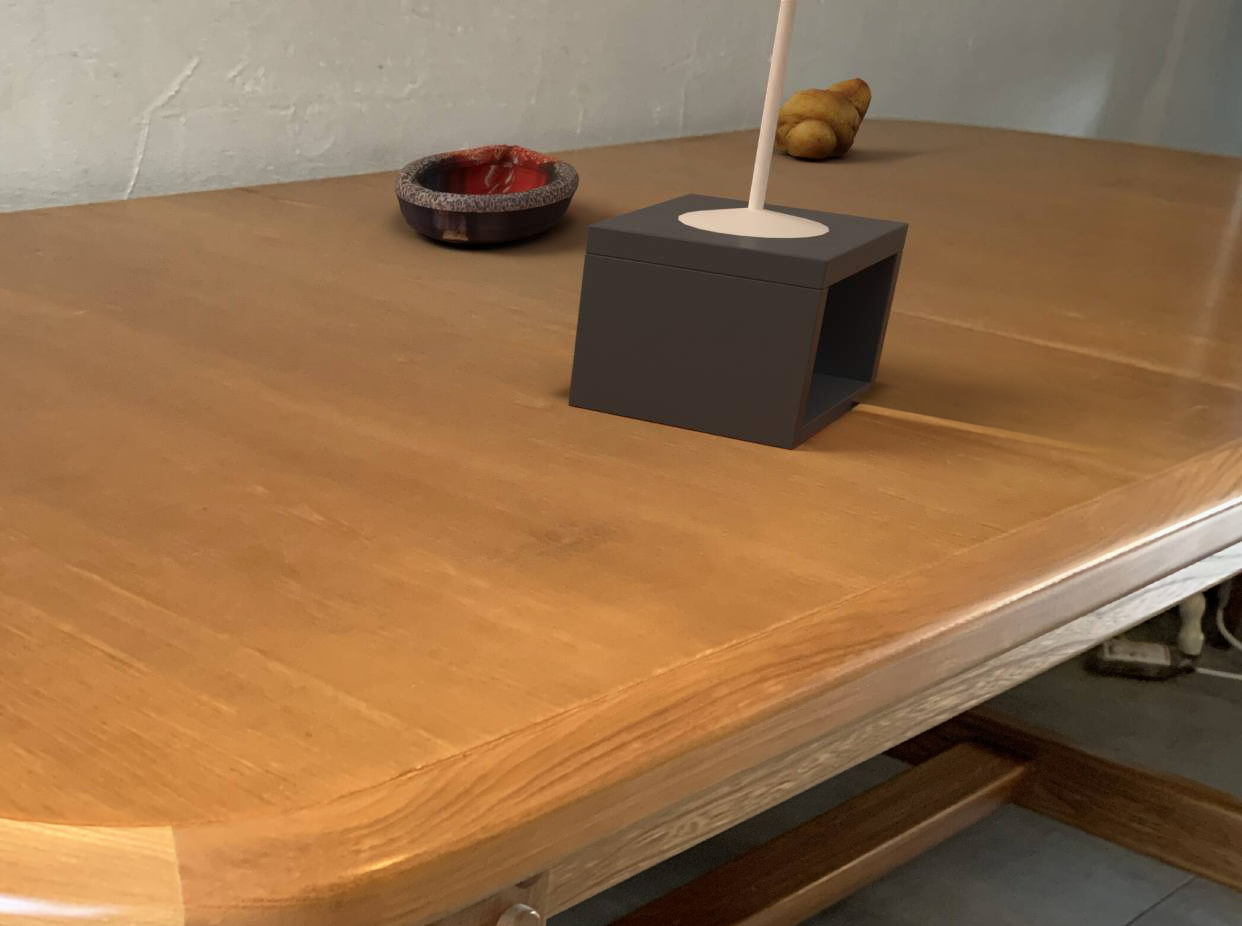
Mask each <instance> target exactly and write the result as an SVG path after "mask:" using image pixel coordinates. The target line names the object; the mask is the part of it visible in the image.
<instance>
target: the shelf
mask: <svg viewBox="0 0 1242 926" xmlns="http://www.w3.org/2000/svg"><path fill="white" fill-rule="evenodd" d="M748 205H749V200H743V199H742V200H741V199H735V198H734V199H733V198H728V197H727V198H726V197H720V196H712V195H706V194H705V195H704V194H699V193H698V194H697V193H688V194H685V195H681V196H678V197H675V198H671V199H668V200H665V201H662V202H659V203H655V204H653V205H649V206H646V207H643V208H639V209H636V210H633V211H630V212H626V213H624V214H621V215H618V216H615V217H614V216H613V217H611V218H608V219H603V220H601V221H598V222H595V223H591V224H588V227H587V237H586V244H585V253H584V262H583V270H582V279H581V287H580V297H579V306H578V315H577V323H576V331H575V341H574V351H573V359H572V368H571V376H570V386H569V394H568V406H572V407H577V408H581V409H587V410H591V411H596V412H601V413H607V414H612V415H616V416H622V417H627V418H631V419H638V420H642V421H647V422H651V423H657V424H661V425H667V426H671V427H675V428H676V427H678V428H680V429H681V428H682V429H687V430H692V431H697V432H703V433H707V434H712V435H716V436H721V437H727V438H732V439H736V440H742V441H746V442H751V443H757V444H762V445H765V446H773V447H776V448H782V449H787V450H793V449H795V448H796V447H798V446H799V445H801V444H802V443H804V442H805V441H807V440H808V439H810V438H812V437H813V436H814V435H816V434H817V433H819V432H821V431H822V430H823V429H824V428H826V427H828V426H829V425H830V424H832V423H834V422H835V421H837V420H838V419H839V418H841V417H843V416H844V415H845V414H847V413H848V412H850V411H851V410H853V409H854V408H856V407H857V406H859V405H860V404H861V402H858V401H855V400H856V399H858V398H859V397H861V396H862V395H864V394H866V393H867V392H868V391H870V390H871V389H873V388H874V387H876V381H877V377H878V372H879V367H880V362H881V358H882V353H883V348H884V344H885V338H886V334H887V329H888V325H889V320H890V316H891V310H892V305H893V301H894V297H895V292H896V287H897V282H898V278H899V272H900V268H901V264H902V263H901V262H902V259H903V254H904V249H905V244H906V239H907V235H908V230H909V226H910V225H909V223H908V222H903V221H895V220H888V219H881V218H874V217H866V216H859V215H852V214H845V213H837V212H829V211H822V210H815V209H809V208H808V209H807V208H800V207H792V206H786V205H778V204H773V203H772V204H771V203H764V207H763V209H766V210H770V211H774V212H779V213H783V214H787V215H792V216H796V217H800V218H805V219H808V220H812V221H815V222H819V223H821V224H823V225H825V226H827V227H828V229H829V232H827V233H825V234H823V235H818V236H812V237H801V238H764V237H751V236H740V235H732V234H725V233H718V232H713V231H708V230H703V229H698V228H695V227H692V226H689V225H686V224H684V223H682V222H681V221H679V220H678V218H679V216H680V215H682V214H685V213H689V212H696V211H705V210H721V209H736V208H748Z"/></svg>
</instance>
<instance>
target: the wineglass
mask: <svg viewBox="0 0 1242 926" xmlns="http://www.w3.org/2000/svg"><path fill="white" fill-rule="evenodd" d="M797 6H798V0H780V3H779V11H778V18H777V23H776V29H775V36H774V42H773V49H772V55H771V61H770V67H769V68H770V69H769V73H768V80H767V86H766V91H765V92H766V93H765V99H764V106H763V111H762V118H761V123H760V131H759V137H758V143H757V148H756V149H757V150H756V154H755V161H754V168H753V174H752V181H751V187H750V192H749V198H748V199H749V200H748V201H749V205H748V208H736V209H721V210H705V211H696V212H689V213H685V214H682V215H680V216H679V218H678V220H679V221H681V222H682V223H684V224H686V225H689V226H692V227H695V228H698V229H703V230H708V231H713V232H718V233H725V234H732V235H740V236H751V237H764V238H801V237H812V236H818V235H823V234H825V233H827V232H829V229H828V227H827V226H825V225H823V224H821V223H819V222H815V221H812V220H808V219H805V218H800V217H796V216H792V215H787V214H783V213H779V212H774V211H770V210H766V209H763V207H764V204H765V201H766V193H767V187H768V182H769V176H770V170H771V164H772V157H773V152H774V146H775V142H774V140H775V134H776V128H777V122H778V116H779V110H780V108H781V102H782V97H783V96H782V95H783V91H784V84H785V78H786V72H787V66H788V60H789V54H790V47H791V42H792V35H793V31H794V24H795V19H796V18H795V17H796V11H797Z"/></svg>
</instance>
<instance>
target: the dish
mask: <svg viewBox="0 0 1242 926" xmlns="http://www.w3.org/2000/svg"><path fill="white" fill-rule="evenodd" d="M393 184H394V185H393V187H394V188H393V189H394V193H395V195H396V198H397V202H398V205H399V210H400V212H401V214H402V217H403V218H404V220H405V222H406V223H407V225H408V226H409V227H410V228H411V229H413V230H414V231H416V232H417V233H420V234H422V235H424V236H426V237H428V238H431V239H433V240H438V241H441V242H447V243H452V244H453V243H454V244H463V245H464V244H465V245H466V244H467V245H484V244H485V245H487V244H489V245H490V244H499V243H505V242H506V243H507V242H512V241H518V240H523V239H527V238H530V237H532V236H535V235H538V234H540V233H542V232H544V231H546V230H548V229H550V228H551V227H553V226H555V225H556V224H558V223H559V221H561V219H562V218H563V216H564V215H565V213H566V212H567V210H568V209H569V207H570V205H571V202H572V200H573V197H574V195H575V193H576V192H577V190H578V188H579V184H580V176H579V174H578V171H577V169H576V168H575V166H573V165H572V164H570V163H569V162H567V161H564V160H562V159H559V158H556V157H553V156H549V155H547V154H545V153H541V152H539V151H536V150H533V149H530V148H527V147H524V146H520V145H516V144H513V145H508V144H494V145H493V144H492V145H491V144H490V145H484V146H483V145H482V146H478V147H474V148H468V149H459V150H455V151H454V150H453V151H447V152H441V153H435V154H431V155H427V156H423V157H421V158H417V159H416V160H412V161H411V162H409V163H407V164H405V165H404V166H403V167H402V168H401V169H400V171H398V173H397V175H396V176H395V178H394V182H393Z"/></svg>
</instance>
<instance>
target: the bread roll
mask: <svg viewBox="0 0 1242 926" xmlns="http://www.w3.org/2000/svg"><path fill="white" fill-rule="evenodd" d="M871 100H872V91H871V87H870V86H869V84H868V83H867V82H866V81H865V80H863V79H861V78H860V77H859V76H858V77H855V78H851V79H848V80H843V81H839V82H836V83H834V84H832V85H830V86H828V87H827V88H825V89H819V88H810V89H806V90H801V91H798V92H797V91H795V92H793V95H791V96H790V97H789V98H788V99H787V101H785V102H784V103H783V104H782V105H781V106H780V109H779V116H778V122H777V128H776V134H775V140H774V146H775V147H776V149H777V150H779V151H780V152H781V151H782V152H783V153H786V154H788V155H790V156H792V157H798V158H808V159H817V160H823V159H826V158H834V157H841V156H843V155H846V154H847V153H848V151H849V150H851V148H852V147H853V145H854V143H855V138H856V136H857V133H858V132H859V129H860V126H861V124H862V122H863V120H864V118H865V116H866V114H867V112H868V109H869V107H870V104H871Z"/></svg>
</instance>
